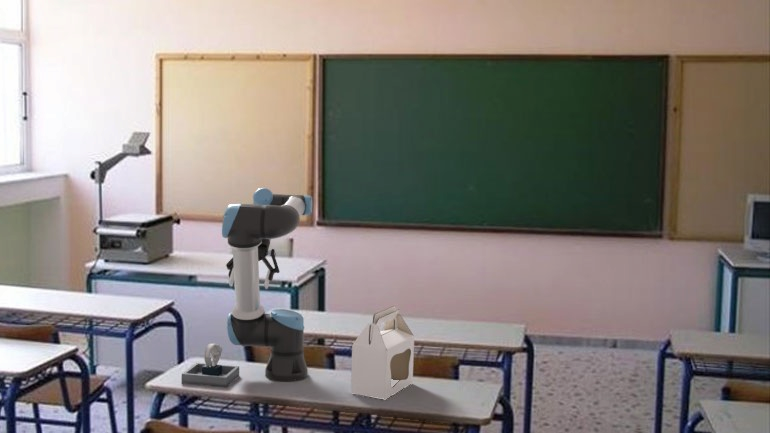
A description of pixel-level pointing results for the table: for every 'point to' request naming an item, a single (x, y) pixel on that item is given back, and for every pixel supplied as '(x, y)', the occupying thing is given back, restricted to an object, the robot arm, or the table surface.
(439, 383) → the table surface
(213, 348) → the watch
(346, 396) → the table surface
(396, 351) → the gable box
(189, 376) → the tray
